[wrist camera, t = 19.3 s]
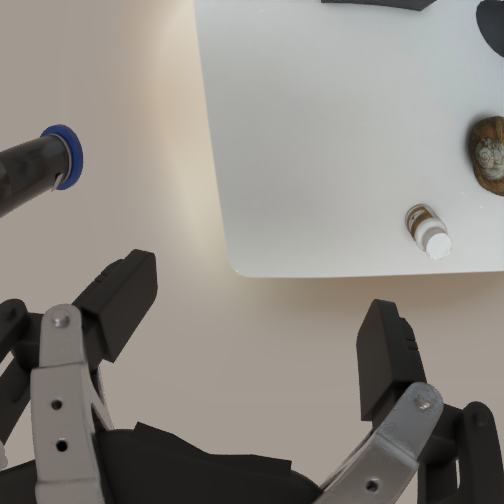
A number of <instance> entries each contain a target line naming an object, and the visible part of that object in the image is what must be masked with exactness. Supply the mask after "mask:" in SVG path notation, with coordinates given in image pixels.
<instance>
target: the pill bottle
mask: <svg viewBox="0 0 504 504" xmlns="http://www.w3.org/2000/svg"><path fill="white" fill-rule="evenodd" d="M406 226H407V229H408V231H409V232H410V234H411V236H412V237H413V239H414V241H415V242H416V244H417V246H418V247H419V248H420V249H421V250H422V251H424V252H426V253H427V255H428V256H429V257H430V258H432V259H435V260H439V259H442V258H444V257H445V256H446V255H447V254H448V253H449V252H450V250H451V247H452V241H451V238H450V236H449V235H448V233H447V228H446V226H445V225H444V223H443V222H442V221H441V220H440V219H439V217H438V216H437V215H436V214H435V213H434V212H433V211H432V210H431V208H429V207H428V206H425V205H418V206H415V207H413V208H412V209H411V210H410V211H409V213H408V214H407V217H406Z"/></svg>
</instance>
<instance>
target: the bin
mask: <svg viewBox="0 0 504 504" xmlns="http://www.w3.org/2000/svg"><path fill="white" fill-rule="evenodd" d="M435 1H436V0H321V2H328V3H358V4H371V5H381V6H390V7H398V8H405V9H411V10H417V11H422V10H423V9H424V8H426V7H427V6H429V5H430V4H432V3H433V2H435Z"/></svg>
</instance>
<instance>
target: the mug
mask: <svg viewBox="0 0 504 504" xmlns="http://www.w3.org/2000/svg"><path fill="white" fill-rule="evenodd" d="M476 17H477V23H478V26H479V29H480V31H481V33H482V35H483V37H484V39H485V40H486V42H487V43H488V44H489V45H490V47H491V48H492V49H493V50H494V51H495V52H497V53H498V54H499V55H500V56H502V57H504V1H500V0H484V1H482V2H481V3H480V4H479V5H478V6H477V12H476Z"/></svg>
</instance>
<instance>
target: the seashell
mask: <svg viewBox="0 0 504 504" xmlns="http://www.w3.org/2000/svg"><path fill="white" fill-rule="evenodd" d="M469 149H470V155H471V158H472V160H473V163H474V170H475V174H476V178H477V180H478V182H479V183H480V185H481V186H482V187H483V188H484V189H486V190H488V191H490V192H492V193H494V194H496V195H499V196H504V117H500V116H495V117H490V118H486V119H484V120H482V121H480V122H479V123H478V124H477V125H476V126H475V128H474V129H473V131H472V134H471V138H470V145H469Z"/></svg>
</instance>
